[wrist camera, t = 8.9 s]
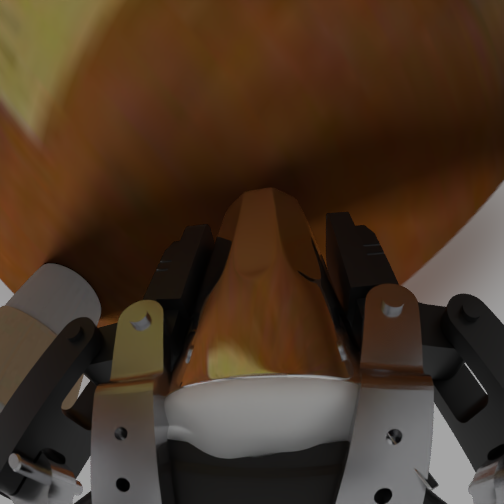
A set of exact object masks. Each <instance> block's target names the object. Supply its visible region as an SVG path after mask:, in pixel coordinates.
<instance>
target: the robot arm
mask: <svg viewBox="0 0 504 504" xmlns="http://www.w3.org/2000/svg"><path fill="white" fill-rule="evenodd" d="M214 245H215V244H214V240H213V237H212V233H211V229H210V227H209V225H208V224H203V225H195V226H187V227H186V229H185V231H184V233H183V235H182V237H181V240H180V241H176V242H173V243H172V244H171V245H170V246H169V247H168V248H167V249H166V250H165V252H164V254H163V256H162V258H161V260H160V263H159V265H158V267H157V269H156V272H155V273H154V275H153V278H152V280H151V282H150V284H149V287H148V289H147V291H146V293H145V296H144V298H143V300H142V301H138V302H136V303H134V304H132V305H130V306H129V307H127V308H126V309H125V310H124V311H123V313H122V314H121V316H120V317H119V320H118V323H115V324H111V325H107V326H104V327H100V328H97V326H96V325H95V324H94V322H93V321H92V320H91V319H90V318H88V317H79V318H76V319H74V320H72V321H71V322H69V323H68V324H67V325H66V326H65V327H64V328H63V330H62V331H61V332H60V333H59V334H58V336H57V337H56V338H55V339H54V340H53V342H52V343H51V344H50V345H49V347H48V348H47V349H46V350H45V352H44V353H43V354H42V356H41V357H40V358H39V359H38V361H37V362H36V363H35V365H34V366H33V367H32V369H31V370H30V371H29V373H28V374H27V375H26V377H25V378H24V380H23V381H22V382H21V384H20V385H19V386H18V388H17V389H16V391H15V392H14V394H13V395H12V397H11V398H10V399H9V401H8V402H7V404H6V405H5V407H4V408H3V410H2V412H1V413H0V491H1V492H3V493H4V494H6V495H8V496H9V497H10V498H11V500H12V501H13V503H14V504H72V501H73V496H74V495H80V494H81V493H82V491H83V487H82V485H81V483H80V482H79V481H77V480H76V478H77V476H78V475H79V473H80V471H81V470H82V468H83V467H84V465H85V463H86V462H87V460H88V459H89V457H90V455H91V491H90V492H89V493H88V494H86V495H85V496H84V497H82V498H81V499H80V500H78V501H77V502H76V503H74V504H447V503H446V502H444V501H443V500H441V498H439V497H438V496H437V495H436V494H434V493H433V492H432V491H430V490H428V488H427V487H426V486H425V485H424V483H423V482H422V481H421V479H420V478H419V477H418V475H417V474H416V472H415V470H414V468H415V469H417V470H418V471H419V472H420V473H421V474H422V475H423V476H424V477H425V478H426V479H428V472H429V464H430V456H431V446H432V434H433V413H434V403H435V404H436V406H437V407H438V409H439V411H440V412H441V414H442V415H443V417H444V419H445V420H446V422H447V423H448V425H449V427H450V428H451V430H452V432H453V433H454V435H455V437H456V438H457V440H458V442H459V443H460V445H461V447H462V449H463V450H464V452H465V454H466V455H467V457H468V459H469V461H470V463H471V464H472V466H473V468H474V470H475V472H476V474H475V476H474V478H473V481H472V482H471V483H470V485H469V488H468V491H469V493H470V494H471V495H472V497H473V500H474V504H504V325H503V324H502V323H501V322H500V320H499V319H498V318H497V317H496V316H495V315H494V313H493V312H492V311H491V310H490V309H489V308H488V307H487V306H486V305H485V304H484V303H483V302H482V301H481V300H480V299H478V298H477V297H475V296H472V295H469V294H458V295H455V296H453V297H452V298H451V299H450V301H449V303H448V305H447V307H442V306H435V305H427V304H422V303H419V302H418V301H417V299H416V297H415V296H414V294H413V293H412V292H411V291H409V290H408V289H407V288H405V287H403V286H400V285H399V284H398V282H397V279H396V277H395V275H394V273H393V271H392V268H391V266H390V264H389V262H388V260H387V258H386V256H385V254H384V251H383V249H382V247H381V245H379V241H378V239H377V237H376V235H375V233H373V232H372V231H371V230H370V229H368V228H367V227H366V226H365V225H360V226H355V225H354V223H353V221H352V218H351V216H350V214H349V212H337V213H327V214H326V261H327V268H328V272H329V275H330V278H331V280H332V283H333V285H334V288H335V291H336V293H337V296H338V298H339V301H340V303H341V305H342V307H343V309H344V311H345V313H346V315H347V318H348V320H349V322H350V325H351V327H352V330H353V332H354V335H355V337H356V340H357V343H358V345H359V348H360V350H359V380H358V392H357V398H356V404H355V408H354V412H353V417H352V420H351V424H350V430H349V436H348V441H341V442H333V443H324V444H319V445H316V446H314V447H311V448H308V449H304V450H300V451H294V452H279V453H275V454H271V455H267V456H263V457H257V458H254V457H248V456H247V457H241V458H232V459H226V458H219V457H214V456H212V455H209V454H207V453H205V452H203V451H201V450H200V449H198V448H196V447H195V446H193V445H192V444H190V443H189V442H185V441H178V440H171V439H167V433H168V428H169V423H168V420H167V417H166V413H165V408H164V402H165V398H166V392H167V387H168V382H169V378H170V375H171V372H172V369H173V366H174V363H175V360H176V357H177V354H178V351H179V348H180V345H181V342H182V340H183V337H184V334H185V331H186V328H187V325H188V322H189V320H190V317H191V314H192V311H193V308H194V305H195V302H196V299H197V296H198V293H199V290H200V286H201V283H202V280H203V277H204V274H205V271H206V268H207V265H208V262H209V259H210V256H211V253H212V251H213V248H214ZM465 362H466V364H467V365H468V366H469V368H470V369H471V370H472V372H473V373H474V375H475V376H476V377H477V379H478V380H479V382H480V383H481V384H482V386H483V387H484V389H485V390H486V392H487V394H488V395H487V394H486V393H485V392H484V390H483V389H482V388H481V386H480V385H479V383H478V382H477V380H476V379H475V378H474V376H473V375H472V374H471V372H470V371H469V369H468V368H467V367H466V366H465V364H464V363H465ZM82 374H84V375H85V376H86V377H88V378H89V379H90V382H89V383H88V385H87V386H86V387H85V389H84V390H83V392H82V393H81V395H80V396H79V397H78V399H77V400H76V402H75V403H74V405H73V406H72V407H71V408H70V409H67V410H65V409H62V408H61V406H62V403H63V401H64V399H65V398H66V396H67V395H68V394H69V392H70V391H71V389H72V388H73V387H74V385H75V384H76V382H77V381H78V380H79V378H80V377H81V376H82ZM387 433H392V434H393V435H394V436H395V437H396V438H397V440H398V444H396V445H394V444H393V442H392V441H391V440H390V438H389V437H388V436H387Z"/></svg>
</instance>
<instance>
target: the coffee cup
mask: <svg viewBox="0 0 504 504" xmlns="http://www.w3.org/2000/svg"><path fill="white" fill-rule="evenodd" d="M100 315H101V305H100V302H99V299H98V297H97V295H96V293H95V291H94V290H93V288H92V287H91V286H90V285H89V283H88V282H87V281H86V280H85V279H84V278H82V277H81V276H80V275H79V274H77V273H76V272H74V271H73V270H71V269H69V268H67V267H64V266H62V265H58V264H51V263H48V264H44V265H43V266H41V267H40V268H39V269H38V270H37V271H36V272H35V273H34V274H33V275H32V276H31V277H30V278H29V279H28V280H27V281H26V282H25V284H24V285H23V286H22V287H21V288H20V289H19V290H18V291H17V292H16V293H15V294H14V296H13V297H12V298H11V299H10V300H9V301H8V302H7V303H6V305H5V306H2V307H1V308H0V413H1V412H2V410H3V408H4V407H5V405H6V404H7V402H8V401H9V399H10V398H11V397H12V395H13V394H14V392H15V391H16V389H17V388H18V386H19V385H20V384H21V382H22V381H23V380H24V378H25V377H26V375H27V374H28V373H29V371H30V370H31V369H32V367H33V366H34V365H35V363H36V362H37V361H38V359H39V358H40V357H41V356H42V354H43V353H44V352H45V350H46V349H47V348H48V347H49V345H50V344H51V343H52V342H53V340H54V339H55V338H56V337H57V336H58V334H59V333H60V332H61V331H62V330H63V328H64V327H65V326H66V325H67V324H68V323H69V322H71V321H72V320H74V319H76V318H79V317H88V318H90V319H91V320H92V321H93V322H94V324H95V325H96V326H97V324H98V321H99V318H100ZM83 375H84V374H82V376H81V377H80V378H79V380H78V381H77V382H76V384H75V385H74V387H73V388H72V389H71V391H70V392H69V394H68V395H67V396H66V398H65V399H64V401H63V403H62V406H61V408H62V409H65V410H67V409H70V408H71V407H72V406H73V405H74V403H75V402H76V400H77V397H78V394H79V390H80V386H81V382H82V379H83ZM0 494H1V495H3V496H4V497H7V498H9V499H11V498H10V497H9V496H8V495H6V494H4V493H3V492H1V491H0Z"/></svg>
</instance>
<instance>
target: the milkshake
mask: <svg viewBox="0 0 504 504" xmlns="http://www.w3.org/2000/svg"><path fill="white" fill-rule="evenodd" d="M359 350H360V348H359V345H358V343H357V340H356V337H355V335H354V332H353V330H352V327H351V325H350V322H349V320H348V318H347V315H346V313H345V311H344V309H343V307H342V305H341V303H340V301H339V298H338V296H337V293H336V291H335V288H334V285H333V283H332V280H331V278H330V275H329V272H328V270H327V267H326V265H325V262H324V260H323V257H322V254H321V252H320V249H319V247H318V244H317V242H316V240H315V237H314V235H313V232H312V230H311V227H310V225H309V223H308V220H307V218H306V216H305V215H304V213H303V211H302V209H301V207H300V205H299V203H298V201H297V199H296V198H295V197H293V196H290V195H288V194H286V193H284V192H282V191H279V190H277V189H275V188H273V187H269V188H263V189H257V190H251V191H246V192H244V193H243V194H242V195H241V196H240V197H239V198H238V199H237V200H236V201H235V202H234V203H233V204H232V205H231V206H230V207H229V208H228V209H227V211H226V214H225V216H224V219H223V222H222V225H221V228H220V230H219V233H218V236H217V239H216V242H215V245H214V248H213V251H212V253H211V256H210V259H209V262H208V265H207V268H206V271H205V274H204V277H203V280H202V283H201V286H200V290H199V293H198V296H197V299H196V302H195V305H194V308H193V311H192V314H191V317H190V320H189V322H188V325H187V328H186V331H185V334H184V337H183V340H182V342H181V345H180V348H179V351H178V354H177V357H176V360H175V363H174V366H173V369H172V372H171V375H170V378H169V382H168V387H167V392H166V398H165V402H164V408H165V413H166V417H167V420H168V423H169V428H168V433H167V439H171V440H178V441H185V442H189V443H190V444H192V445H193V446H195V447H196V448H198V449H200V450H201V451H203V452H205V453H207V454H209V455H212V456H214V457H219V458H226V459H232V458H241V457H247V456H248V457H254V458H257V457H263V456H267V455H271V454H275V453H279V452H294V451H300V450H304V449H308V448H311V447H314V446H316V445H319V444H324V443H333V442H341V441H348V436H349V430H350V424H351V420H352V417H353V412H354V408H355V404H356V398H357V392H358V380H359ZM387 436H388V437H389V438H390V440H391V441H392V442H393V444H394V445H396V444H398V440H397V438H396V437H395V436H394V435H393V434H392V433H387ZM414 470H415V472H416V474H417V475H418V477H419V478H420V479H421V481H422V482H423V483H424V485H425V486H426V487H427V488H428V490H430V491H431V490H433V489H435V488H436V487H438V483H437V482H436V481H435V479H434V478H433V477H432V475H431V474H430V473H429V472H428V479H426V478H425V477H424V476H423V475H422V474H421V473H420V472H419V471H418V470H417V469H415V468H414Z"/></svg>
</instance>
